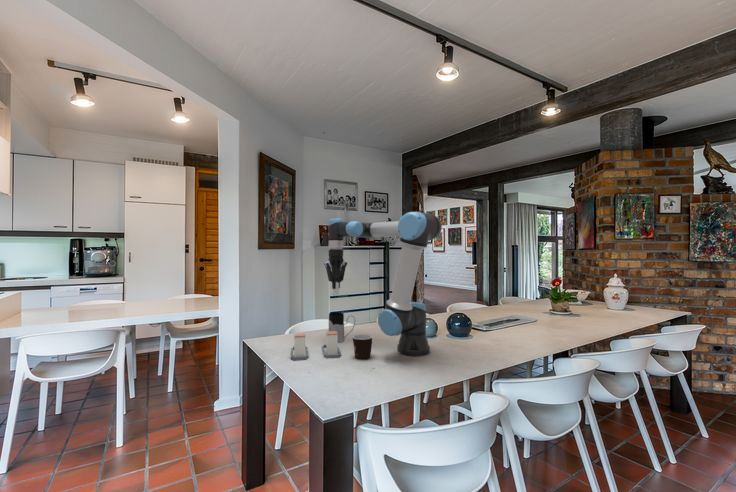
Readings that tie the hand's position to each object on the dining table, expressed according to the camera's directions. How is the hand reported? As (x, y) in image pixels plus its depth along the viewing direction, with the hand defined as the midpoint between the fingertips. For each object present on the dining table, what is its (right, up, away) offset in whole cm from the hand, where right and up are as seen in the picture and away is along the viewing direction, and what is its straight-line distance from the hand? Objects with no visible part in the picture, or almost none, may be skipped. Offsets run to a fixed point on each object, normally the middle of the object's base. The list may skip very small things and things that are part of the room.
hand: (336, 295), depth 177 cm
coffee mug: (+14, -24, -26) cm, 38 cm away
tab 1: (-13, -23, -27) cm, 38 cm away
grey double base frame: (-7, -24, -21) cm, 33 cm away
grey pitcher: (+3, -25, 0) cm, 25 cm away
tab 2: (0, -23, -23) cm, 32 cm away
